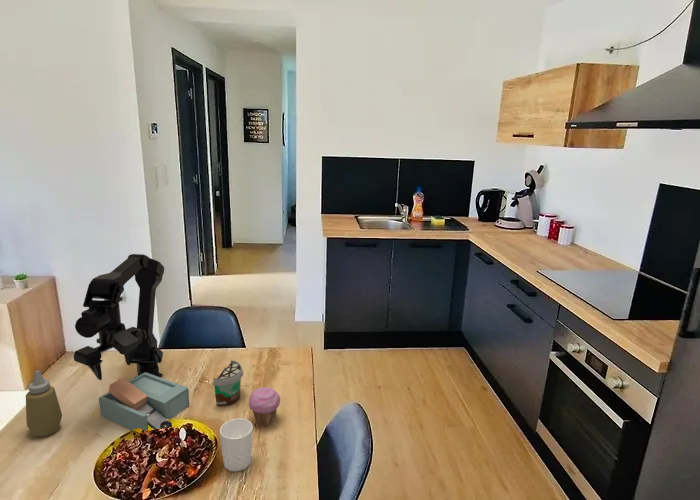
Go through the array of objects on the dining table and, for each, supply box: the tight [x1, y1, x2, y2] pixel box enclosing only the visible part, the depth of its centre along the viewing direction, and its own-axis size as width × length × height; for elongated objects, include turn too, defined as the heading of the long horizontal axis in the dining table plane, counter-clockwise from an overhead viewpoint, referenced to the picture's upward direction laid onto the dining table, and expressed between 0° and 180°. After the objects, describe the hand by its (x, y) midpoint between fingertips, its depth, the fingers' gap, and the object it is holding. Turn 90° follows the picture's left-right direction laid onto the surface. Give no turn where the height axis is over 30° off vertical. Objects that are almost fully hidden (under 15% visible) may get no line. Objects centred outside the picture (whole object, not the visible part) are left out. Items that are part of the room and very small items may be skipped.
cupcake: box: [248, 386, 281, 427], centre depth 130 cm, size 9×9×10 cm
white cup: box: [219, 418, 254, 472], centre depth 113 cm, size 8×8×10 cm
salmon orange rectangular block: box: [108, 377, 147, 410], centre depth 129 cm, size 10×4×3 cm, turn 64°
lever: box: [115, 398, 173, 431], centre depth 127 cm, size 19×4×2 cm, turn 65°
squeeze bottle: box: [25, 369, 63, 438], centre depth 121 cm, size 8×8×18 cm
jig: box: [98, 372, 190, 431], centre depth 132 cm, size 18×16×6 cm
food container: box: [212, 359, 244, 407], centre depth 139 cm, size 12×6×10 cm, turn 168°
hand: (114, 372), depth 129 cm, fingers open, 9 cm apart
